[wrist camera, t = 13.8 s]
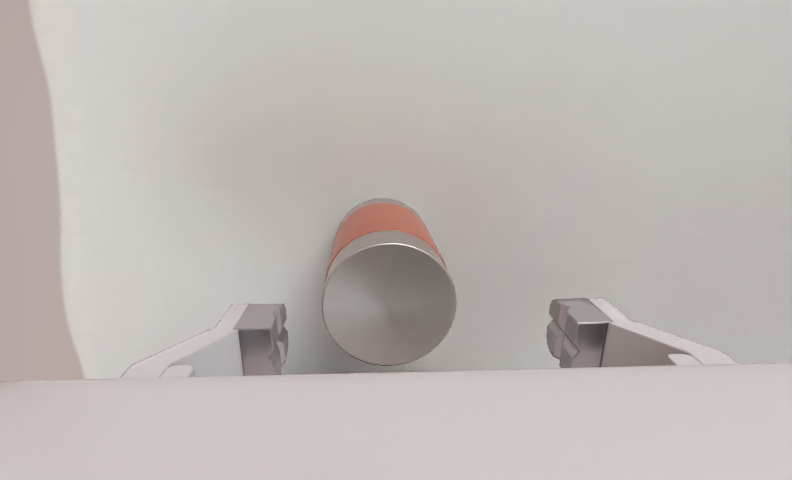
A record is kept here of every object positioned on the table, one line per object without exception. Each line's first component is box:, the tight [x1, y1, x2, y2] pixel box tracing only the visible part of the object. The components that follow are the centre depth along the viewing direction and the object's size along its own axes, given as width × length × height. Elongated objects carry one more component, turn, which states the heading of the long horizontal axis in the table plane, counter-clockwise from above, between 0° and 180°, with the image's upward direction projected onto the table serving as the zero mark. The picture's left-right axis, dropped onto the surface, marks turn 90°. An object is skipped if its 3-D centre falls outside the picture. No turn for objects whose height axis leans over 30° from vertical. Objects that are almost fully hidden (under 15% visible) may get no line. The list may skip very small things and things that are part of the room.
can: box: [322, 199, 456, 366], centre depth 22 cm, size 6×6×9 cm
